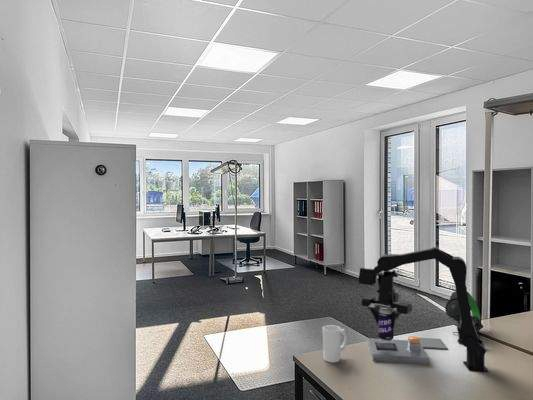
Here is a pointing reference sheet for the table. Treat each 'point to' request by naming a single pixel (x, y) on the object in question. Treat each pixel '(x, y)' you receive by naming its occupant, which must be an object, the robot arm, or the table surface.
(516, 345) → the table surface
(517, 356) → the table surface
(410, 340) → the peach dome cap
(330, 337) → the mug
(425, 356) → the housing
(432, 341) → the pad
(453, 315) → the headset
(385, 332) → the beverage can
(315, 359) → the table surface
